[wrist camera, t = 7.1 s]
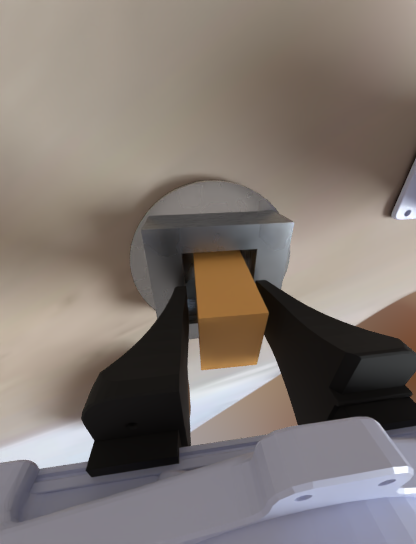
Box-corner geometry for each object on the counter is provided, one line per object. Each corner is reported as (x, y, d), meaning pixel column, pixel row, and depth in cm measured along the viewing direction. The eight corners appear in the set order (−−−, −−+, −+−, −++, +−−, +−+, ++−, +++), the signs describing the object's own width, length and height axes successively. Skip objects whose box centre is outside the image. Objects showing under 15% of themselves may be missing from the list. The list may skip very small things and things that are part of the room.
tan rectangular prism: (234, 239, 14) (268, 312, 8) (231, 284, 16) (256, 364, 11) (192, 242, 14) (198, 318, 8) (195, 286, 16) (201, 370, 11)
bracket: (298, 177, 14) (336, 184, 10) (272, 313, 20) (291, 345, 17) (115, 182, 13) (90, 191, 9) (147, 324, 19) (139, 361, 15)
